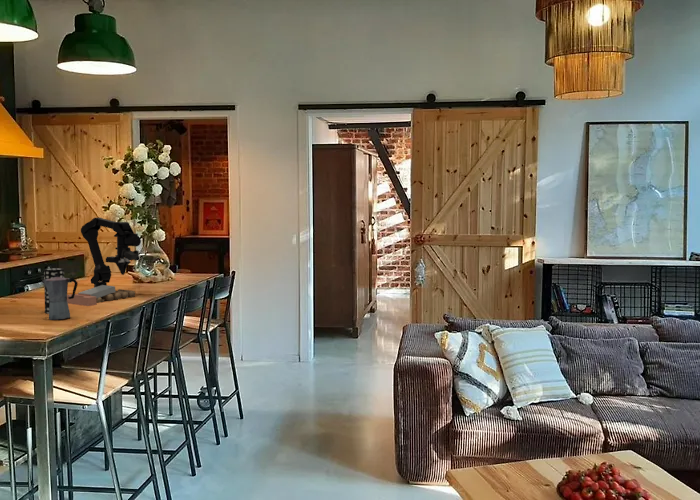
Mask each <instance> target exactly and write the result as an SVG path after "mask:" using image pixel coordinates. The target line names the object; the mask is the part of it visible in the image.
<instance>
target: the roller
mask: <svg viewBox="0 0 700 500" xmlns="http://www.w3.org/2000/svg"><path fill="white" fill-rule="evenodd" d="M96 303H97V304H100V303H103V302H102V298H100V297H99V298H96Z"/></svg>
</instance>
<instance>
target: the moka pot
mask: <svg viewBox="0 0 700 500" xmlns="http://www.w3.org/2000/svg"><path fill="white" fill-rule="evenodd" d="M41 282H42V283H43V286H44V285H45V286H46V288H47V291H48V296H49V301H50V305H49V314H48V320H50V321H51V320H53V321H54V320H55V321H56V320H64V319H69V318H71V312H70V308H69V303H67V295H68V288H69V287H68V285H69V283H72V282H73V284H74V285H73V290H72V293H71V294H72V296H71V297H68V299H73V298H74V295H75V294H76V292H77V291H76V290H77V288H78V284H79V283H78V281H77V280H76V279H75V278H74V277H70V278H69V277H64V278H62V277H58V273H55V277H54V278H50V279H45V280H44V279H42V281H41Z"/></svg>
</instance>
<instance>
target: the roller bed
mask: <svg viewBox="0 0 700 500" xmlns="http://www.w3.org/2000/svg"><path fill="white" fill-rule="evenodd" d="M115 291H116V292H114V293H111V294H108V295H105V296H102V297H100V298H102V302H101V303H105V301H107V302H113V300H116V299H117V301H119V300H120V299H127V298H134V297H135V296H136V291H135V290H129V289H122V288H121V289H120V288H119V289H118V290H115ZM118 299H119V300H118Z"/></svg>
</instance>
